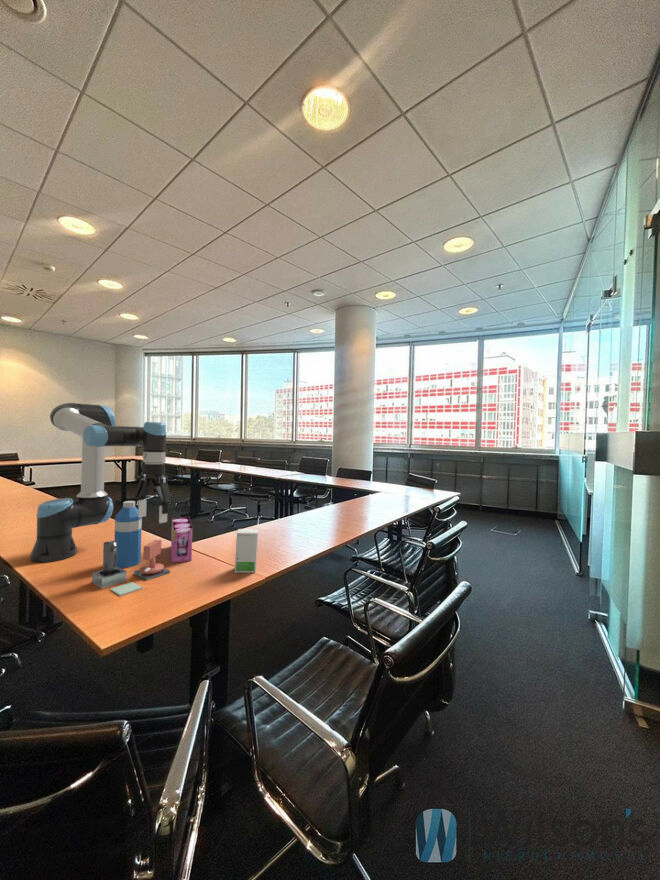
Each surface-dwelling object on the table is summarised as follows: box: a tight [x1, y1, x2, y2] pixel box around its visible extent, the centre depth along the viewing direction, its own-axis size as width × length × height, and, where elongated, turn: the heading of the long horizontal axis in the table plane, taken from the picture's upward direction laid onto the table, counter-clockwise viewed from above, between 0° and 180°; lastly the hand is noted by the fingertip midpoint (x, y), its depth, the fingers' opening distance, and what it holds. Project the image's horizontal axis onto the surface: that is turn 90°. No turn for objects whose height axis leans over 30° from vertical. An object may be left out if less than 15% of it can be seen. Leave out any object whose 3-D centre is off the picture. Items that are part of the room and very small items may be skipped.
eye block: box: [91, 566, 128, 590], centre depth 121 cm, size 8×8×4 cm
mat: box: [110, 581, 143, 597], centre depth 116 cm, size 7×7×1 cm
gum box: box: [170, 516, 193, 564], centre depth 152 cm, size 24×8×14 cm, turn 25°
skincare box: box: [234, 528, 259, 574], centre depth 136 cm, size 8×7×16 cm
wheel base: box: [133, 567, 171, 581], centre depth 130 cm, size 9×9×1 cm
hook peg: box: [102, 540, 117, 577], centre depth 121 cm, size 6×4×14 cm
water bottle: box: [114, 500, 143, 569], centre depth 138 cm, size 9×9×25 cm
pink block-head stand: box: [139, 539, 165, 574], centre depth 129 cm, size 8×8×10 cm
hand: (152, 519), depth 129 cm, fingers open, 13 cm apart
